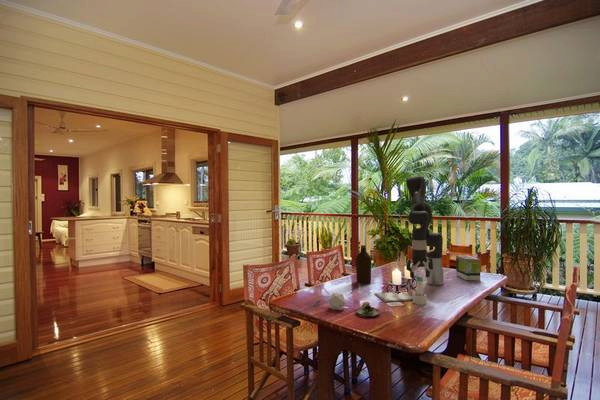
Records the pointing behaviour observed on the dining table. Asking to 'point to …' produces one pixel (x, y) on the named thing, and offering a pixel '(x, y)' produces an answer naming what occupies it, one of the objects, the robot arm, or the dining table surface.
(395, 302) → the word card
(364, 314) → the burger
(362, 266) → the olive oil
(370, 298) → the dining table surface
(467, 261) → the tea box
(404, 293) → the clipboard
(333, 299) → the white faceted polyhedron
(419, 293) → the marker
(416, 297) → the pen cup
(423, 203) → the robot arm
